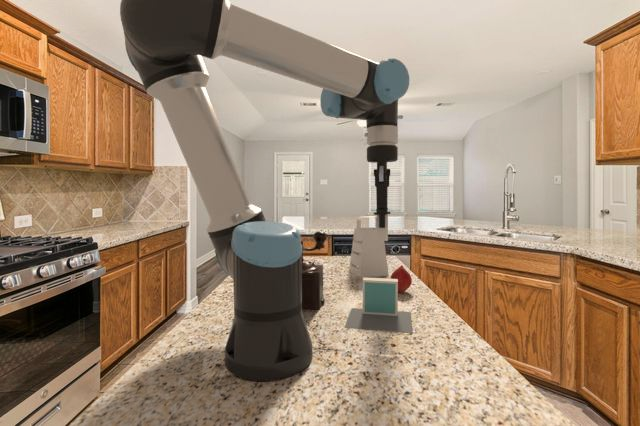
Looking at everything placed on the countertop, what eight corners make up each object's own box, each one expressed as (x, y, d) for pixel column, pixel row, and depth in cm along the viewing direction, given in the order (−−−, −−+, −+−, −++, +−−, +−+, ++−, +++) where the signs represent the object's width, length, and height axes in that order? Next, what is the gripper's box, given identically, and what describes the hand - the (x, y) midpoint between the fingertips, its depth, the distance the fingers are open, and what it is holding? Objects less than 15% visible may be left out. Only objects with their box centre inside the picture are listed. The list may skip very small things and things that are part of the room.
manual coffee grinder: (322, 312, 81) (321, 238, 80) (277, 310, 83) (276, 237, 82) (328, 292, 97) (328, 230, 96) (290, 291, 98) (289, 230, 97)
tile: (397, 316, 77) (397, 281, 77) (362, 313, 79) (362, 280, 79) (397, 312, 80) (397, 279, 79) (363, 310, 82) (363, 277, 81)
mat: (412, 334, 68) (412, 332, 68) (344, 328, 71) (344, 327, 71) (410, 313, 80) (410, 312, 80) (351, 309, 83) (351, 308, 83)
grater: (348, 270, 123) (348, 216, 122) (374, 268, 126) (375, 215, 125) (360, 277, 113) (360, 218, 112) (388, 275, 116) (389, 217, 115)
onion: (388, 294, 95) (388, 266, 94) (393, 288, 100) (393, 262, 99) (408, 297, 92) (409, 268, 91) (413, 291, 97) (413, 264, 97)
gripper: (368, 149, 90) (369, 236, 92) (364, 142, 78) (365, 244, 79) (397, 148, 89) (397, 237, 90) (397, 141, 76) (397, 244, 78)
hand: (382, 240), depth 85 cm, fingers closed
